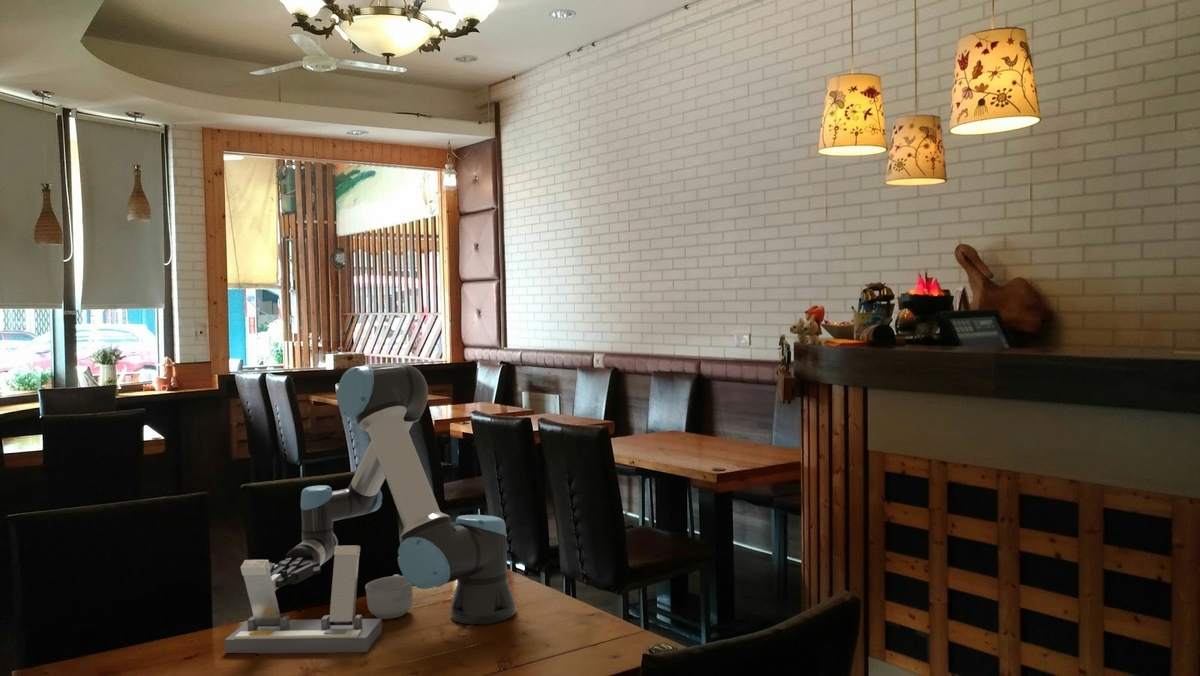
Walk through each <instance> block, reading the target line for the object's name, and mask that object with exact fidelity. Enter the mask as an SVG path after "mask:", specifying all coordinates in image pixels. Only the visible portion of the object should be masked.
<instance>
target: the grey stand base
mask: <svg viewBox="0 0 1200 676" xmlns="http://www.w3.org/2000/svg"><path fill="white" fill-rule="evenodd" d="M329 618H330V614H329V615H328V614H327V615H326V614H325V615H323V616H322V618H321V619H290V615H283V616H282V617H281V619H280V626H261V627H258V626H257V625H256V624H255V620H254V616H253V615H252V616H250V617H249V618H247V621H246V622H245V623H243V624H242V625H241V626H240V627H238V628H237V629H236V630H234V632H232V633H231V634H229V636H227V637H226V638H225V639H224V654H225V653H258V654H312V653H313V654H315V653H316V654H323V653H324V654H325V653H326V654H327V653H328V654H329V653H367V652H368V651H369V650H370V648H371V646H372V645H374V643H375V642H376V640H377V639H378V638H379V636H380V635H381V634H382V633H383V623H382V620H383V619H379V618H363V614H356V615H355V617H354V618H353V625H336V626H331V625H330V622H329Z"/></svg>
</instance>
